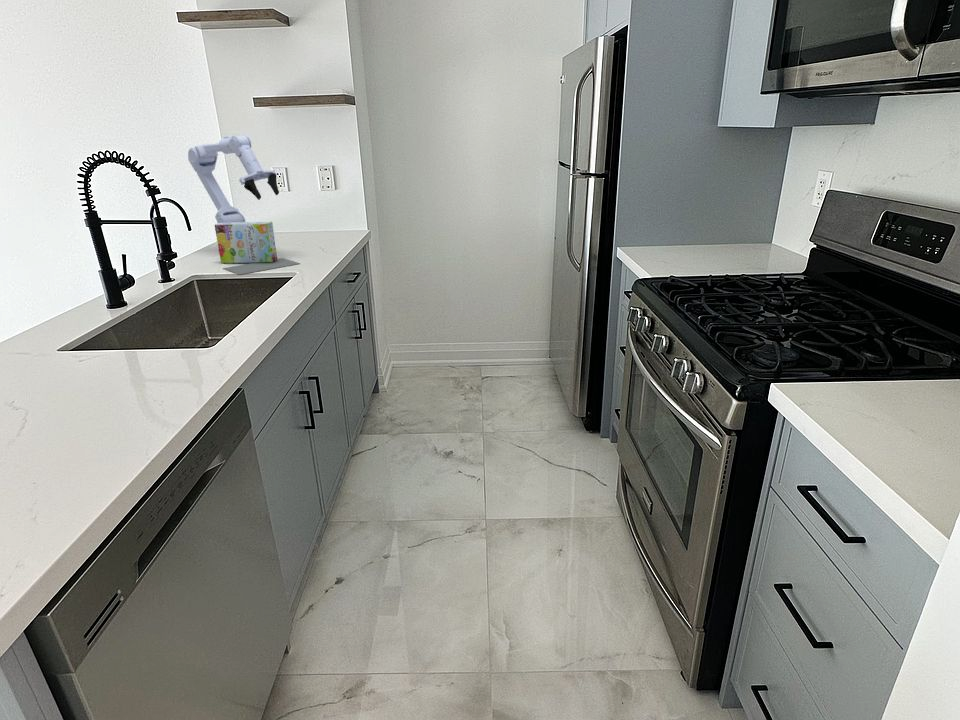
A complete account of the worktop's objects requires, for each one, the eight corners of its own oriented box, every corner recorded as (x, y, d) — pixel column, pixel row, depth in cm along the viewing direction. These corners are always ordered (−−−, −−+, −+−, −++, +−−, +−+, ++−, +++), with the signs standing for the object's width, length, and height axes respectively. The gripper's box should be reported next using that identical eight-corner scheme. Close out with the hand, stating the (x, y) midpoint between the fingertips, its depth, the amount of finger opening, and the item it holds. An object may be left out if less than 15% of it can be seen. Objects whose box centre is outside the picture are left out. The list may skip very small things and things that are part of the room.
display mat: (223, 268, 232) (222, 268, 232) (282, 258, 248) (282, 257, 247) (239, 275, 223) (239, 274, 223) (300, 264, 238) (299, 263, 238)
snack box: (278, 260, 244) (272, 221, 238) (272, 263, 238) (266, 223, 233) (227, 260, 246) (220, 221, 240) (220, 263, 240) (213, 224, 235)
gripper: (236, 163, 231) (254, 195, 231) (271, 155, 240) (288, 186, 240) (232, 173, 236) (249, 204, 237) (266, 165, 245) (283, 195, 245)
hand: (268, 196), depth 239 cm, fingers open, 7 cm apart
